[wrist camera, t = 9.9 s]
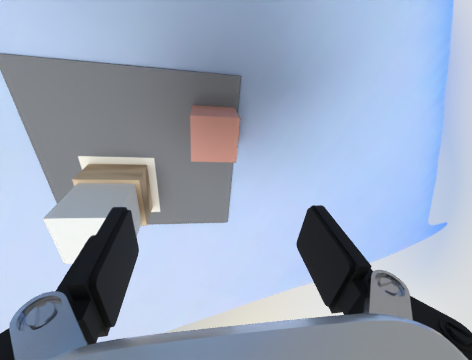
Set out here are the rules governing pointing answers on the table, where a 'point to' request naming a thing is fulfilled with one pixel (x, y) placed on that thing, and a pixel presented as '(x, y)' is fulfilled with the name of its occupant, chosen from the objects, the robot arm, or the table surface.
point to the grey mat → (124, 128)
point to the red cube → (214, 133)
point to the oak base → (121, 181)
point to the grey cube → (87, 214)
